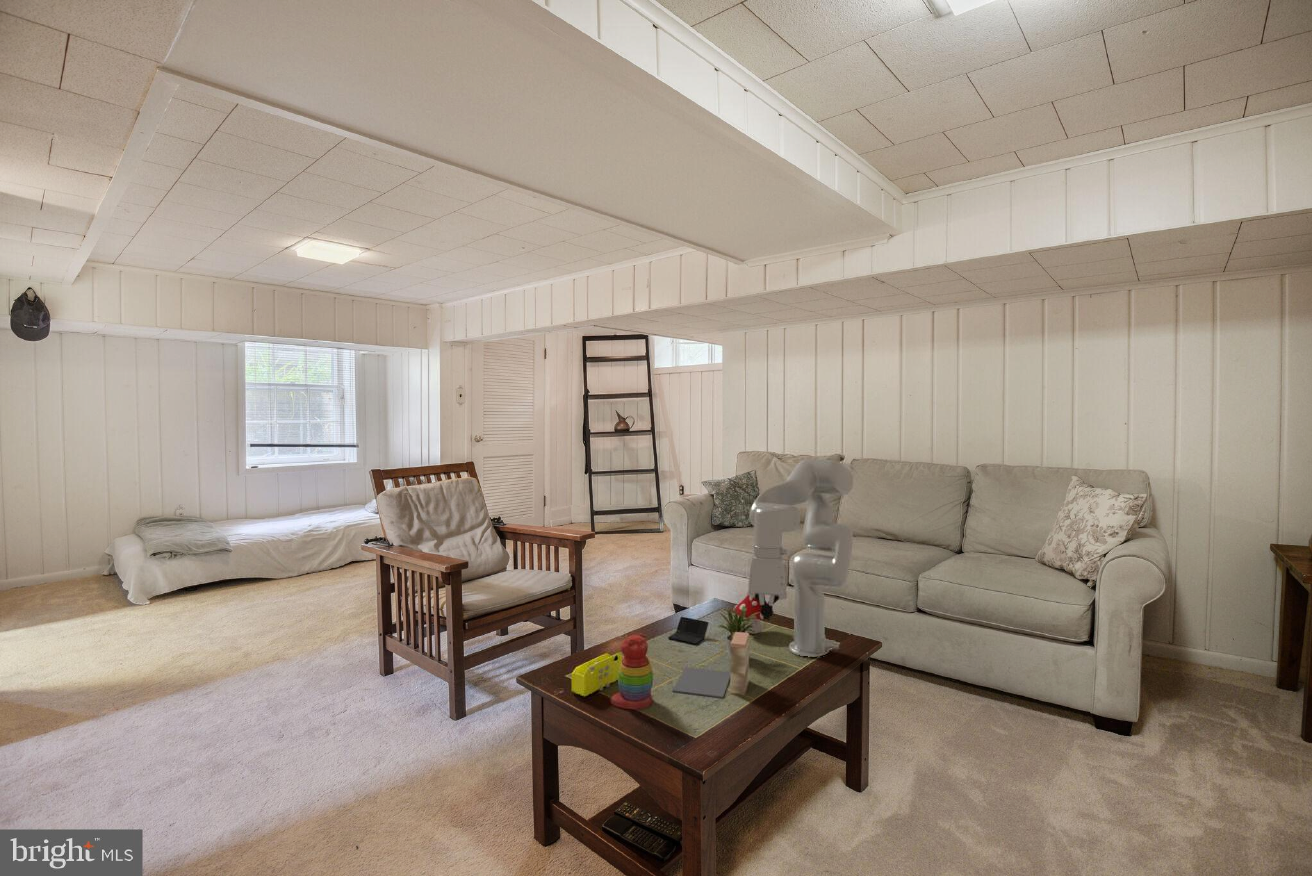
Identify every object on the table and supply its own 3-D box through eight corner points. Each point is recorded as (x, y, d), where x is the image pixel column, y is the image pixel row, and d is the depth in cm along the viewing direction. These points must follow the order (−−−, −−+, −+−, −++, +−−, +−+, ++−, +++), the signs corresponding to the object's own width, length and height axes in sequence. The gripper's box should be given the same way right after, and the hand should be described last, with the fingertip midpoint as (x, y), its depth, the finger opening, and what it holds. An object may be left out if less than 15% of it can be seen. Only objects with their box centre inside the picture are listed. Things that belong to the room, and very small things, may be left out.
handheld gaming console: (666, 637, 206) (676, 609, 211) (670, 643, 212) (680, 616, 217) (698, 647, 202) (707, 618, 207) (701, 653, 207) (710, 625, 212)
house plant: (760, 670, 183) (760, 616, 182) (714, 666, 186) (714, 613, 185) (761, 652, 197) (762, 602, 196) (718, 648, 200) (719, 599, 199)
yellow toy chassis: (585, 700, 165) (585, 669, 165) (570, 694, 168) (570, 664, 168) (624, 679, 177) (624, 651, 177) (610, 674, 181) (610, 646, 181)
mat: (731, 673, 181) (731, 672, 181) (722, 698, 166) (722, 696, 166) (685, 668, 185) (685, 666, 185) (672, 691, 169) (672, 690, 169)
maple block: (748, 680, 176) (749, 633, 176) (744, 695, 168) (745, 644, 167) (735, 679, 177) (735, 631, 177) (730, 693, 169) (730, 643, 168)
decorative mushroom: (781, 638, 209) (781, 594, 208) (743, 642, 205) (744, 598, 205) (763, 624, 223) (763, 583, 222) (728, 627, 219) (728, 586, 218)
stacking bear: (633, 688, 171) (633, 626, 171) (661, 699, 165) (661, 634, 164) (606, 702, 163) (606, 637, 162) (635, 714, 157) (635, 646, 156)
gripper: (796, 551, 170) (795, 616, 171) (742, 547, 174) (741, 611, 175) (794, 557, 163) (793, 625, 163) (738, 553, 167) (737, 620, 167)
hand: (766, 618), depth 169 cm, fingers closed
